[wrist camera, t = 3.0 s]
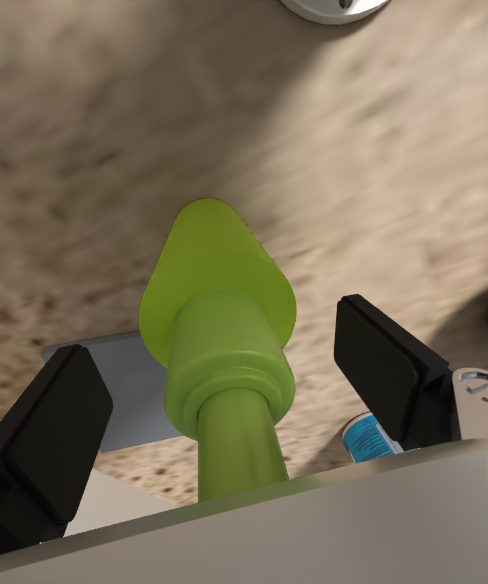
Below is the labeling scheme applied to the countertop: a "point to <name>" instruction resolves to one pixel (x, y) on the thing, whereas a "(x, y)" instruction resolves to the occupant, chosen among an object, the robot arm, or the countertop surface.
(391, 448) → the beverage bottle
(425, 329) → the countertop surface
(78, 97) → the countertop surface
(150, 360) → the charcoal mat
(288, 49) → the countertop surface
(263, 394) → the soap dispenser
